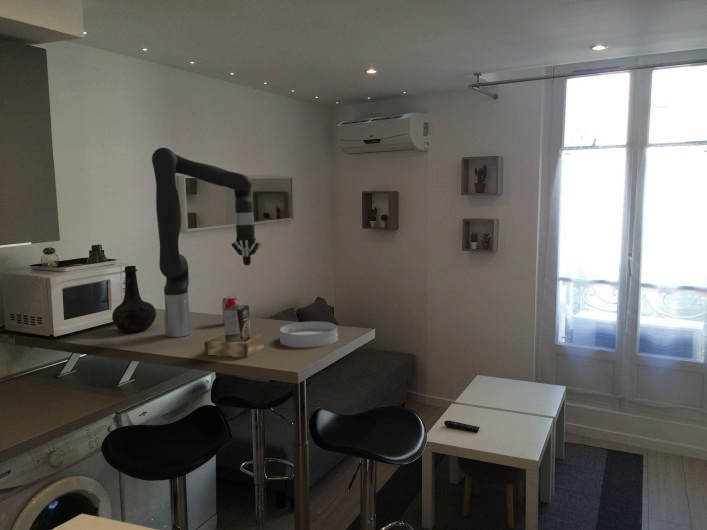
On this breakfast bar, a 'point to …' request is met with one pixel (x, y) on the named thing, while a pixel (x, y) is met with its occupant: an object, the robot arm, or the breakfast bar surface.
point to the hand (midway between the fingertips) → (247, 265)
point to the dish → (308, 334)
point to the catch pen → (233, 346)
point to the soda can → (229, 303)
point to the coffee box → (237, 324)
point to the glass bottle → (133, 306)
